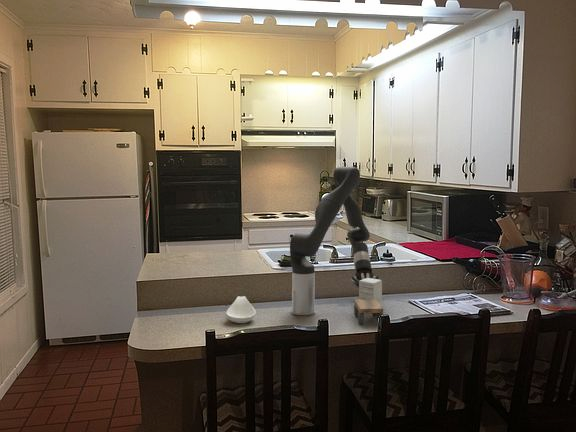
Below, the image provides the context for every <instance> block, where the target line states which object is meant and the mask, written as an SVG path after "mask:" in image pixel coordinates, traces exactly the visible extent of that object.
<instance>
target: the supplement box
mask: <svg viewBox="0 0 576 432" xmlns="http://www.w3.org/2000/svg"><path fill="white" fill-rule="evenodd" d="M358 299H376V300H377V301H378V302H379V304H380V305H381V306H382V305H383V303H382V302H383V300H382V299H383V280H382V279H373V278H366V279H363V280H360V281H359V288H358ZM382 307H383V306H382Z"/></svg>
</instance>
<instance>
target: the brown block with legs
mask: <svg viewBox="0 0 576 432" xmlns="http://www.w3.org/2000/svg"><path fill="white" fill-rule="evenodd" d="M353 299H354V298H353ZM353 304H354V305H353V314H354V315H353V316H354V317H355V318H357V321H358V325H364V324H365V314H372V317H376V322H377V324H378V318H379V316H380V315H383V316H384V307H383V306H381V305H380V304H379V302H378V301H377V300H376V299H359V298H356V299H354V300H353Z"/></svg>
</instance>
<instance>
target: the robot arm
mask: <svg viewBox="0 0 576 432" xmlns="http://www.w3.org/2000/svg"><path fill="white" fill-rule="evenodd" d="M360 171H361V170H360V169H359V168H358V167H355V166H338V167H336V168H334V171H333V175H332V177H333V182H334V185H335V189H333V190H332V191H330V192H329V193H327V194H326V195H324V197H322V199H321V200H320V201H319V203H318V204H317V206H316V208H315V211H314V220H315V224H314V227H313V229H312V231H311V232H310V233H299V232H298V233H294V234H293V235H292V236H291V238H290V241H289V256H290V257H289V258H290V266H291V270H292V271H291V272H292V279H291V281H292V282H291V283H292V289H291V297H292V298H291V302H292V303H291V304H292V306H291V311H292V315H297V316H310V315H311V316H312V315H314V314H315V309H316V307H315V279H316V278H315V275H316V274H315V265H314V264H313V263H311V262H310V261H309V260H308V259H307V257H308V258H309V257H313V256H315V255H316V254H317V253H318V251H319V249H320V248H321V245H322V242H323V241H324V238H325V236H326V234H327V232H328V230H329V228H330V227H331V225H332V224H333V221H334V220H335V218H337V215H338V214H339V212H340V210H341V208H342V206H343V208H344V211H345V214H346V220H347V224H348V225H349V226H350V227H352V228H351V229H348V231H347V233H346V236H347V240H348V241H349V244H350V245H351V247H352V252H353V265H354V270H355V274H354V276H351V280H350V282H352V283H353V285H355V287H357V288H358V289H359V281H360V280H363V279H366V278H372V279H379V276H378V275H377V276H376V275H374V273H373V270H372V262H371V258H370V254H369V248H368V245H367V243H365V242H367V241H369V239H370V231H369V229H368V228H367V226H366V224H365V222H364V220H363V216H362V210H361V207H360V206H359V203H358V202H357V200H355V199H354V197H353V196H352V195H351V194H352V192H353V191H354V189H355V188H356V187H357V185H358V184H359V181H360V179H361V172H360ZM379 280H380V279H379Z"/></svg>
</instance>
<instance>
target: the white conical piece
mask: <svg viewBox="0 0 576 432" xmlns="http://www.w3.org/2000/svg"><path fill="white" fill-rule="evenodd" d="M225 314H226V315H225V316H226V317H227V318H228V320H229V321H230V322H233V323H234V324H235V323H237V324H245V323H248V322H251V321H252V320H253V319H254V318H255V316H256V315H257V312H256V309H255V308H254V307H253V305H252V304H251V303H250V302H249V300H248V299H247V297H246V295H244V296H243V295H242V296H239V295H238V296H237V297H236V299H235V300H234V301H233V302H232V304H231V305H230V306H229V307H228V309H227V310H226V312H225Z"/></svg>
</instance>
